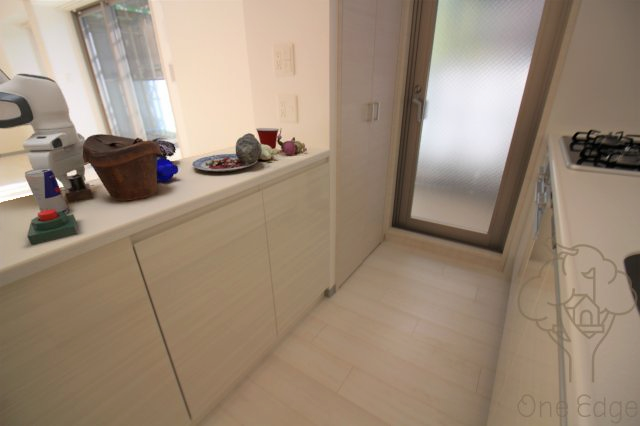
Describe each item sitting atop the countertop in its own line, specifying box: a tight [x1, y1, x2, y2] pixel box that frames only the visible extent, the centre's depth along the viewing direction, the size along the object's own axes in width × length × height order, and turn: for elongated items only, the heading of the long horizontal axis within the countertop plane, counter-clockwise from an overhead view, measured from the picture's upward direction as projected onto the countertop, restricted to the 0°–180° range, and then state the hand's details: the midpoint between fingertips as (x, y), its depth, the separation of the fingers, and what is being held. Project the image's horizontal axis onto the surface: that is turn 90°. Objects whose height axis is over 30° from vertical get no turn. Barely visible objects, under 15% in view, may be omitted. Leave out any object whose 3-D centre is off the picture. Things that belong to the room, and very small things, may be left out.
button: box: [37, 209, 58, 221], centre depth 66 cm, size 3×3×2 cm
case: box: [83, 133, 164, 201], centre depth 87 cm, size 18×20×18 cm
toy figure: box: [157, 158, 179, 183], centre depth 103 cm, size 9×10×15 cm
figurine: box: [277, 129, 308, 157], centre depth 138 cm, size 11×13×15 cm
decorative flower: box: [151, 137, 177, 159], centre depth 120 cm, size 15×12×15 cm
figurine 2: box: [276, 136, 296, 152], centre depth 145 cm, size 8×8×6 cm
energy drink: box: [24, 168, 69, 214], centre depth 75 cm, size 5×5×12 cm
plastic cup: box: [255, 127, 280, 149], centre depth 138 cm, size 11×11×12 cm
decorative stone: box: [235, 132, 262, 163], centre depth 118 cm, size 22×10×10 cm
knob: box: [67, 173, 87, 190], centre depth 87 cm, size 4×4×4 cm
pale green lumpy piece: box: [257, 144, 278, 161], centre depth 129 cm, size 13×7×15 cm
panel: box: [60, 183, 95, 204], centre depth 88 cm, size 9×9×3 cm
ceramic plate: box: [191, 153, 258, 173], centre depth 119 cm, size 26×26×3 cm
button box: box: [26, 212, 78, 246], centre depth 67 cm, size 8×8×4 cm
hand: (75, 184), depth 87 cm, fingers closed on knob, 4 cm apart
